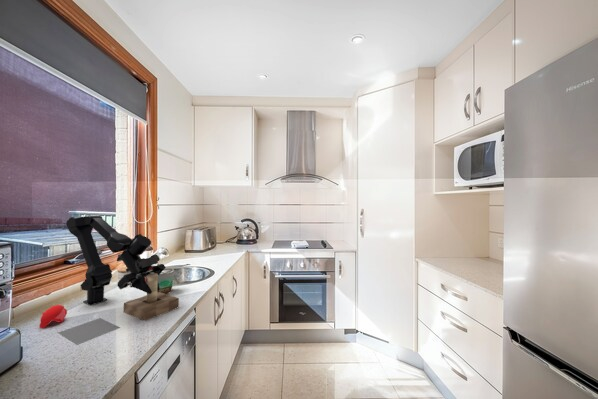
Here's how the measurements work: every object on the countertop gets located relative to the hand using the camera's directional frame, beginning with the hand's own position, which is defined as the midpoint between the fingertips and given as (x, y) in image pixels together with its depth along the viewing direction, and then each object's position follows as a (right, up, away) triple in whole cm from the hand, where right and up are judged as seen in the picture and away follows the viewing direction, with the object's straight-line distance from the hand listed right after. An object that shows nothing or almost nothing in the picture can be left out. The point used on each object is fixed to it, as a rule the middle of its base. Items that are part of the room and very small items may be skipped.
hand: (154, 291), depth 101 cm
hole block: (-1, -8, 0) cm, 8 cm away
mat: (-13, -7, -16) cm, 22 cm away
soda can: (-16, -8, +25) cm, 30 cm away
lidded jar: (-33, -8, +33) cm, 47 cm away
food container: (-6, -8, +19) cm, 21 cm away
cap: (-30, -7, -12) cm, 33 cm away
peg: (-1, -7, 0) cm, 7 cm away
